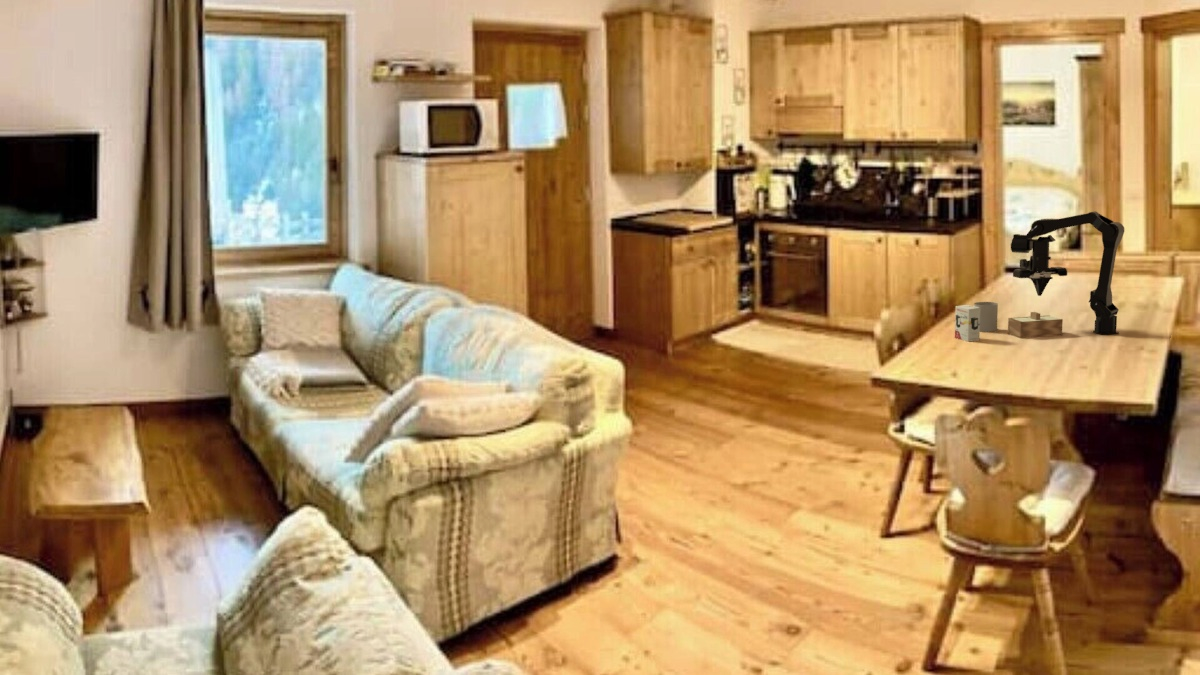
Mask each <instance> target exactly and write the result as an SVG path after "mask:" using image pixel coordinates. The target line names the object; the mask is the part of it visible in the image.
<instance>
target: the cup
mask: <svg viewBox="0 0 1200 675" xmlns="http://www.w3.org/2000/svg"><path fill="white" fill-rule="evenodd" d="M973 306H975V307H979V308H980V333H994V332H997V331H998V311H999V310H998V306H999V304H998V303H997V302H993V301H978V302H974V304H973Z"/></svg>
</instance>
